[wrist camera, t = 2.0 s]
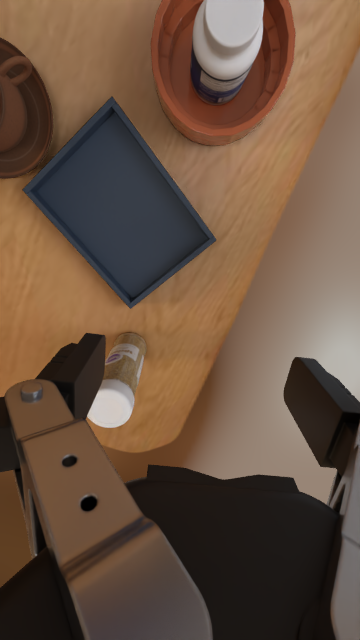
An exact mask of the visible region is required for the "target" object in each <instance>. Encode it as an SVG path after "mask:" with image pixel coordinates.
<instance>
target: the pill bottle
mask: <svg viewBox="0 0 360 640" xmlns="http://www.w3.org/2000/svg"><path fill="white" fill-rule="evenodd" d="M263 11H264V0H204V1H203V2H202V4H201V6H200V8H199V10H198V12H197V14H196V18H195V21H194V27H193V35H192V50H191V66H190V74H191V82H192V86H193V88H194V90H195V92H196V94H197V95H198V96H199V98H200V99H202V100H203V101H204V102H206V103H208V104H211V105H222V104H225V103H227V102H229V101H230V100H232V99H233V98H234V97H235V96H236V95H237V93H238V92H239V90H240V89H241V87H242V85H243V83H244V81H245V79H246V77H247V75H248V73H249V71H250V69H251V67H252V65H253V63H254V61H255V58H256V56H257V54H258V52H259V49H260V46H261V42H262V36H263V20H262V17H263Z"/></svg>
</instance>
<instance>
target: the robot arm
mask: <svg viewBox="0 0 360 640" xmlns="http://www.w3.org/2000/svg"><path fill="white" fill-rule="evenodd" d="M105 345H106V338H105V335H100V334H91V333H86V334H85V335H84V336H83V338H82V339H81V340H80V342H79V343H78V344H75V343H71V344H69V345H67V346H65V347H63V348H61V349H60V350H59V351H58V353H57V354H56V355H55V357H53V358H52V360H51V361H50V362H49V363H48V364H47V365H46V367H45V368H44V369H43V370H42V371H41V372H40V374H39V375H38V376H37V377H36V378H35V379H32V380H26V381H23V382H20V383H17V384H15V385H14V386H12V387H11V388H9V389H8V390H7V392H6V393H5V396H4V397H0V472H4V471H9V470H13V473H14V477H15V481H16V485H17V490H18V494H19V497H20V502H21V506H22V510H23V514H24V518H25V522H26V527H27V533H28V539H29V545H30V550H31V555H32V560H31V561H30V562H29V563H28V564H26V565H25V566H24V567H23V568H22V569H21V570H20V571H19V572H17V573H16V574H15V575H14V576H13V577H12V578H11V579H10V580H9V581H7V582H6V583H5V584H4V585H3V586H2V587H1V588H0V640H360V402H359V401H358V400H357V399H356V398H355V397H354V396H353V395H351V393H350V392H349V391H348V389H347V388H345V386H344V385H343V384H342V383H341V382H340V381H339V380H338V379H337V378H335V377H334V376H332V375H331V374H329V373H328V372H326V371H325V369H324V368H323V367H322V366H321V365H320V364H319V363H318V362H317V361H316V360H315V359H310V358H301V357H295V358H294V360H293V361H292V364H291V368H290V371H289V374H288V377H287V381H286V384H285V387H284V401H285V403H286V405H287V407H288V409H289V411H290V412H291V414H292V416H293V418H294V420H295V421H296V423H297V425H298V427H299V429H300V431H301V432H302V434H303V436H304V438H305V439H306V441H307V443H308V445H309V447H310V448H311V450H312V452H313V454H314V456H315V458H316V460H317V461H318V463H319V465H320V466H321V467H330V468H336V469H337V473H336V475H335V477H334V481H333V484H332V488H331V491H330V495H329V498H328V502H327V505H326V504H325V503H323V502H321V501H320V500H317V499H316V498H314V497H312V496H310V495H307V494H305V493H303V492H299V490H298V488H297V485H296V483H295V481H294V479H293V478H290V477H279V476H268V475H253V476H246V477H240V478H234V479H228V480H222V479H218V478H215V477H212V476H209V475H205V474H202V473H199V472H196V471H193V470H190V469H187V468H180V467H170V466H159V465H148V471H147V477H143V478H138V479H135V480H131V481H128V482H126V483H123V481H122V479H121V477H120V476H119V474H118V472H117V471H116V469H115V467H114V466H113V464H112V462H111V461H110V459H109V457H108V456H107V454H106V453H105V451H104V449H103V447H102V446H101V444H100V442H99V441H98V439H97V437H96V436H95V434H94V432H93V431H92V429H91V427H90V426H89V424H88V422H87V421H86V420H85V419H86V417H87V415H88V413H89V411H90V408H91V406H92V404H93V402H94V399H95V397H96V395H97V393H98V391H99V388H100V386H101V384H102V381H103V377H104V371H105Z"/></svg>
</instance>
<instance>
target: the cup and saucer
mask: <svg viewBox="0 0 360 640" xmlns="http://www.w3.org/2000/svg"><path fill="white" fill-rule="evenodd" d="M52 132H53V114H52V108H51V103H50V99H49V96H48V93H47V90H46V88H45V85H44V83H43V81H42V79H41V77H40V76H39V74H38V72H37V71H36V69H35V68H34V66H33V65H32V64H31V62H30V61H29V60H28V59H27V58H26V56H25V55H24V54H23V53H22V52H21V51H19V50H18V49H17V48H16V47H15V46H13V45H12V44H11V43H9V42H8V41H6V40H4V39H2V38H0V178H2V179H6V178H15V177H18V176H21V175H24V174H26V173H28V172H30V171H31V170H32V169H34V168H35V167H36V166H37V165H38V164H39V163H40V162H41V161H42V159H43V158H44V156H45V154H46V153H47V151H48V148H49V145H50V142H51V138H52Z"/></svg>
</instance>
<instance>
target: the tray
mask: <svg viewBox="0 0 360 640" xmlns="http://www.w3.org/2000/svg"><path fill="white" fill-rule="evenodd" d="M23 191H24V192H25V193H26V194H27V196H28V197H29V198H30V199H31V200H32V201H33V202H34V203H35V204H36V206H37V207H38V208H39V209H40V210H41V211H42V212H43V213H44V214H45V215H46V217H47V218H48V219H49V220H50V221H51V222H52V223H53V224H54V225H55V226H56V227H57V229H58V230H59V231H60V232H61V233H62V234H63V235H64V236H65V237H66V238H67V240H68V241H69V242H70V243H71V244H72V245H73V246H74V247H75V248H76V249H77V251H78V252H79V253H80V254H81V255H82V256H83V257H84V258H85V259H86V260H87V262H88V263H89V264H90V265H91V266H92V267H93V268H94V269H95V270H96V271H97V273H98V274H99V275H100V276H101V277H102V278H103V279H104V280H105V281H106V282H107V284H108V285H109V286H110V287H111V288H112V289H113V290H114V291H115V292H116V293H117V295H118V296H119V297H120V298H121V299H122V300H123V301H124V302H125V303H126V304H127V305H128V307H129V308H130V309H131V308H132V307H133V306H135V305H136V304H137V303H139V302H140V301H141V300H142V299H144V298H145V297H146V296H147V295H149V294H150V293H151V292H152V291H154V290H155V289H156V288H157V287H159V286H160V285H161V284H162V283H164V282H165V281H166V280H167V279H169V278H170V277H171V276H172V275H174V274H175V273H176V272H177V271H179V270H180V269H181V268H182V267H184V266H185V265H186V264H187V263H189V262H190V261H191V260H192V259H194V258H195V257H196V256H197V255H199V254H200V253H201V252H202V251H204V250H205V249H206V248H207V247H209V246H210V245H211V244H212V243H214V242H215V241H216V238H215V237H214V236H213V234H212V233H211V231H210V230H209V229H208V227H207V226H206V225H205V223H204V222H203V220H202V219H201V218H200V216H199V215H198V214H197V212H196V211H195V210H194V208H193V207H192V205H191V204H190V203H189V201H188V200H187V199H186V197H185V196H184V194H183V193H182V192H181V190H180V189H179V188H178V186H177V185H176V183H175V182H174V181H173V179H172V178H171V177H170V175H169V174H168V172H167V171H166V170H165V168H164V167H163V166H162V164H161V163H160V161H159V160H158V159H157V157H156V156H155V155H154V153H153V152H152V150H151V149H150V148H149V146H148V145H147V144H146V142H145V141H144V139H143V138H142V137H141V135H140V134H139V133H138V131H137V130H136V128H135V127H134V126H133V124H132V123H131V122H130V120H129V119H128V117H127V116H126V115H125V113H124V112H123V111H122V109H121V108H120V106H119V105H118V104H117V103H116V101H115V100H114V98H113V97H111V98H110V99H109V100H108V101H107V102H106V103H105V104H104V105H103V106H102V107H101V108H100V109H99V110H98V111H97V112H96V114H95V115H94V116H93V117H92V118H91V119H90V120H89V121H88V122H87V123H86V124H85V125H84V126H83V127H82V128H81V129H80V130H79V131H78V132H77V133H76V134H75V135H74V136H73V138H72V139H71V140H70V141H69V142H68V143H67V144H66V145H65V146H64V147H63V148H62V149H61V150H60V151H59V152H58V153H57V154H56V155H55V156H54V157H53V158H52V159H51V160H50V162H49V163H48V164H47V165H46V166H45V167H44V168H43V169H42V170H41V171H40V172H39V173H38V174H37V175H36V176H35V177H34V178H33V179H32V180H31V181H30V182H29V183H28V184H27V186H26V187H25V188H24V189H23Z"/></svg>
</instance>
